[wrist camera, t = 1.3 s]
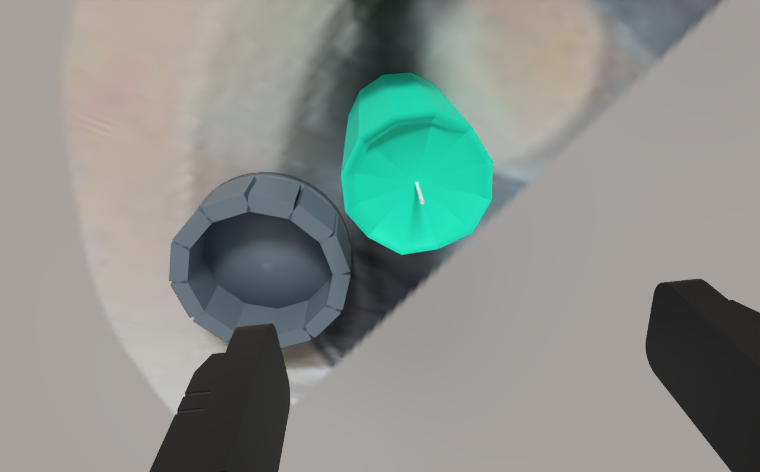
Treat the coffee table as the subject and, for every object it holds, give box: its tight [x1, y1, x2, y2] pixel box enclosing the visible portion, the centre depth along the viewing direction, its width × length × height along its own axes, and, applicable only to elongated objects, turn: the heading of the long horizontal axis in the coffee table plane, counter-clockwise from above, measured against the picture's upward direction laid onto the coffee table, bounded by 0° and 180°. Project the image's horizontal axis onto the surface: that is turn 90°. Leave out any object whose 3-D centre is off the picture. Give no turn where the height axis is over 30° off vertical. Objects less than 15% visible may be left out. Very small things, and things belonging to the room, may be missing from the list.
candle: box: [341, 72, 493, 255], centre depth 23 cm, size 6×6×12 cm
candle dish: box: [169, 172, 352, 348], centre depth 29 cm, size 10×10×4 cm
